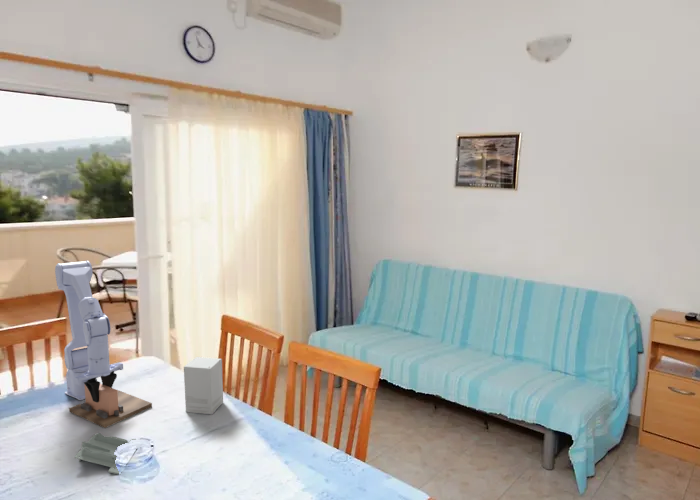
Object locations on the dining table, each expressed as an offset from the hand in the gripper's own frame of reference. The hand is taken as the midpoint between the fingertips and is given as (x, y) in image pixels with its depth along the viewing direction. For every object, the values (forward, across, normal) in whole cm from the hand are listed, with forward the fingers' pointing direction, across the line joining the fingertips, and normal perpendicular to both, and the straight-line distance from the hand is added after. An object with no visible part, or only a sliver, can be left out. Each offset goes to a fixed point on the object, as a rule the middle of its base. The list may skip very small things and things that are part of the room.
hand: (101, 398), depth 156 cm
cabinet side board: (+5, +3, 0) cm, 5 cm away
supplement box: (+5, +20, -23) cm, 31 cm away
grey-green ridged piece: (+5, -14, -23) cm, 28 cm away
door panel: (+3, 0, 0) cm, 3 cm away
